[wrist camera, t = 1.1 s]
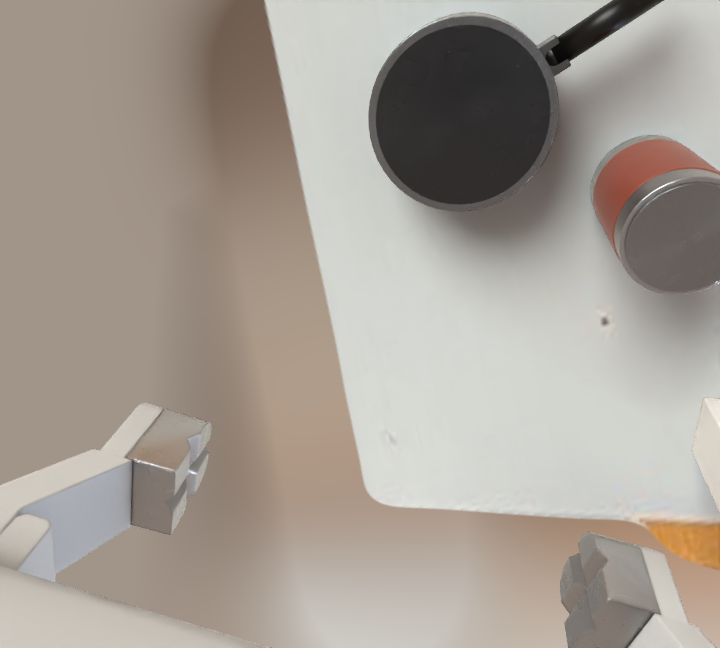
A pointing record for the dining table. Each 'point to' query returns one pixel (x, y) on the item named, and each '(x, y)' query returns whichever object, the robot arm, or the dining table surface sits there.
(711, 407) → the milk
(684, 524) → the dining table surface
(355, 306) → the dining table surface
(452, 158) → the steel pot
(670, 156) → the tin can
